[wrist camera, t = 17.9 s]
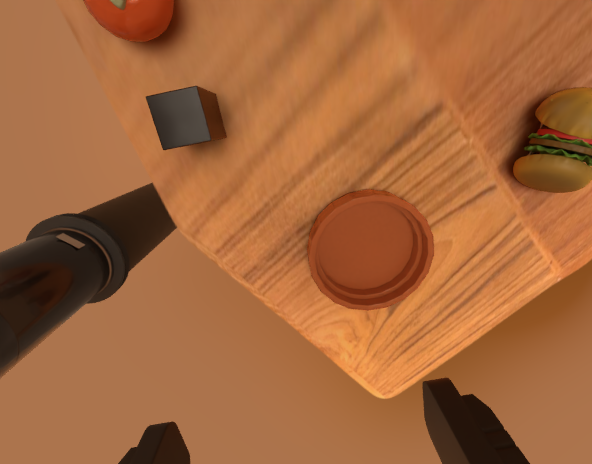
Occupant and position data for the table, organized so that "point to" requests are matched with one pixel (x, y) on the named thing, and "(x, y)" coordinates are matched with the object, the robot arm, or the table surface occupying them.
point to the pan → (369, 250)
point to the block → (186, 117)
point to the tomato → (132, 17)
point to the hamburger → (560, 144)
